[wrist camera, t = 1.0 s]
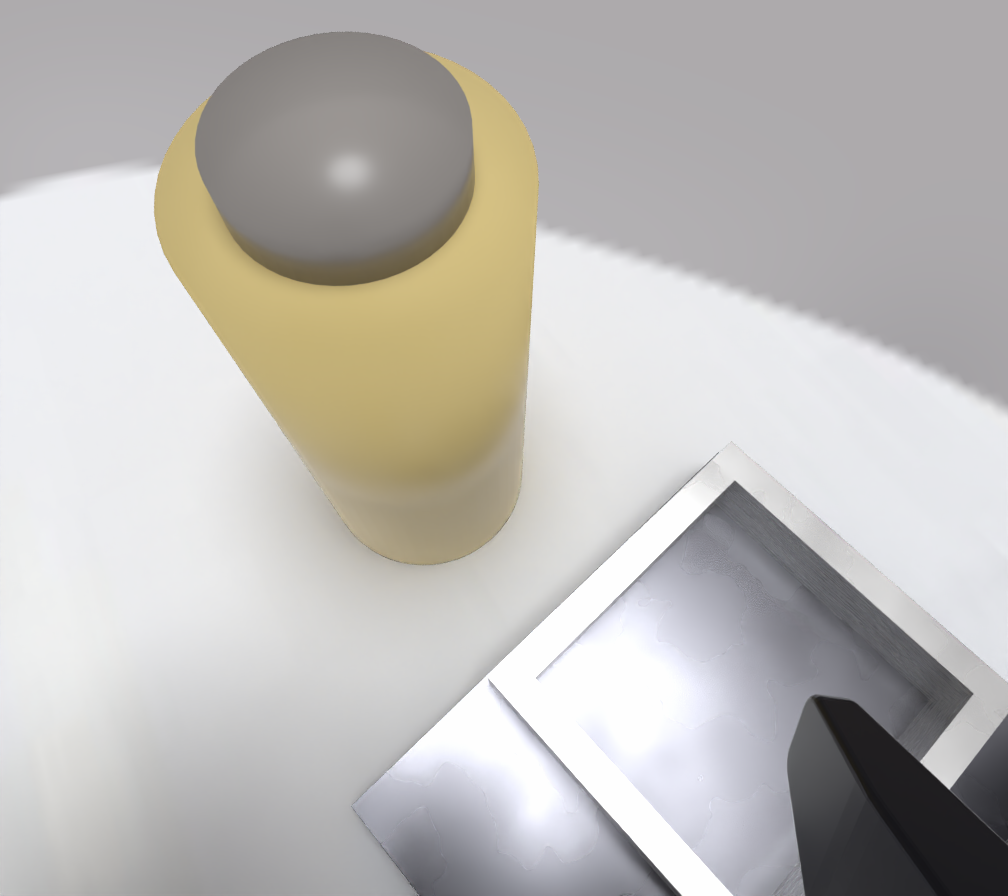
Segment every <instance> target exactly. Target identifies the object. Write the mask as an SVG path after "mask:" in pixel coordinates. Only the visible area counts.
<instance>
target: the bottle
mask: <svg viewBox="0 0 1008 896" xmlns="http://www.w3.org/2000/svg"><path fill="white" fill-rule="evenodd" d="M538 187H539V181H538V166H537V160H536V156H535V152H534V147H533V144H532V142H531V140H530V137H529V135H528V132H527V130H526V128H525V126H524V124H523V123H522V121H521V120H520V118H519V116H518V114H517V113H516V111H515V110H514V109H513V108H512V107H511V105H510V104H509V103H508V102H507V101H506V99H505V98H504V97H503V96H502V95H501V94H500V93H498V91H497V90H495V89H494V88H493V87H492V86H491V85H490V84H489V83H488V82H486V81H485V80H483V79H482V78H480V77H479V76H478V75H476V74H475V73H473V72H472V71H470V70H468V69H466V68H464V67H462V66H460V65H459V64H457V63H455V62H453V61H450V60H448V59H445V58H443V57H440V56H438V55H435V54H432V53H429V52H425V51H422V50H420V49H418V48H416V47H415V46H412V45H410V44H408V43H405V42H402V41H400V40H397V39H393V38H390V37H386V36H382V35H375V34H370V33H360V32H330V33H322V34H314V35H310V36H305V37H300V38H297V39H293V40H291V41H287V42H284V43H281V44H279V45H276V46H274V47H272V48H269V49H267V50H265V51H263V52H262V53H260V54H258V55H256V56H254V57H252V58H251V59H249V60H248V61H246V62H245V63H244V64H242V65H241V66H239V67H238V68H237V69H236V70H235V71H233V72H232V73H231V74H230V75H229V76H228V77H227V78H226V79H225V80H224V81H223V82H222V83H221V84H220V85H219V86H218V87H217V89H216V90H215V92H214V93H213V94H212V95H211V96H210V97H209V98H208V99H207V100H206V101H205V102H203V103H202V104H201V105H200V106H199V107H198V109H196V111H195V112H194V113H193V114H192V115H191V116H190V117H189V118H188V119H187V120H186V122H185V123H184V125H183V126H182V127H181V129H180V130H179V132H178V133H177V134H176V136H175V137H174V139H173V141H172V143H171V145H170V147H169V149H168V151H167V153H166V154H165V157H164V160H163V163H162V165H161V168H160V171H159V174H158V179H157V184H156V189H155V201H154V216H155V222H156V229H157V234H158V237H159V240H160V243H161V246H162V249H163V252H164V255H165V256H166V258H167V260H168V262H169V264H170V266H171V267H172V269H173V271H174V273H175V274H176V276H177V277H178V279H179V280H180V282H181V283H182V285H183V286H184V287H185V289H186V290H187V292H188V293H189V295H190V296H191V298H192V299H193V301H194V302H195V304H196V305H197V307H198V308H199V310H200V311H201V312H202V314H203V315H204V317H205V318H206V320H207V321H208V323H209V324H210V326H211V327H212V329H213V330H214V332H215V333H216V335H217V336H218V337H219V339H220V340H221V342H222V343H223V345H224V346H225V348H226V349H227V351H228V352H229V354H230V355H231V357H232V358H233V360H234V361H235V362H236V364H237V365H238V367H239V368H240V370H241V371H242V373H243V374H244V376H245V377H246V379H247V380H248V382H249V383H250V384H251V386H252V387H253V389H254V390H255V392H256V393H257V395H258V396H259V398H260V399H261V401H262V402H263V404H264V405H265V407H266V408H267V409H268V411H269V412H270V414H271V415H272V417H273V418H274V420H275V421H276V423H277V424H278V426H279V427H280V429H281V430H282V432H283V433H284V434H285V436H286V437H287V439H288V440H289V442H290V443H291V445H292V446H293V448H294V449H295V451H296V452H297V454H298V455H299V457H300V458H301V459H302V461H303V462H304V464H305V465H306V467H307V468H308V470H309V471H310V473H311V474H312V476H313V477H314V479H315V480H316V482H317V483H318V484H319V486H320V487H321V489H322V490H323V492H324V493H325V495H326V496H327V498H328V499H329V501H330V502H331V504H332V505H333V506H334V508H335V509H336V511H337V512H338V514H339V515H340V517H341V518H342V520H343V521H344V523H345V524H346V526H347V527H348V528H349V529H350V531H351V532H352V533H353V535H354V536H355V537H356V538H357V539H358V540H359V541H361V542H362V543H363V544H364V545H365V546H367V547H368V548H370V549H371V550H372V551H374V552H376V553H378V554H380V555H382V556H384V557H386V558H389V559H392V560H394V561H398V562H402V563H407V564H416V565H433V564H439V563H445V562H449V561H452V560H456V559H459V558H461V557H464V556H466V555H468V554H470V553H472V552H474V551H475V550H477V549H479V548H480V547H482V546H483V545H484V544H486V543H487V542H488V541H489V540H491V539H492V538H493V537H494V536H495V535H496V534H497V533H498V532H499V531H500V530H501V528H502V527H503V526H504V524H505V523H506V521H507V520H508V518H509V517H510V515H511V513H512V511H513V509H514V507H515V504H516V502H517V499H518V496H519V492H520V487H521V478H522V463H523V446H524V429H525V411H526V394H527V377H528V360H529V343H530V325H531V308H532V291H533V274H534V257H535V240H536V222H537V204H538Z"/></svg>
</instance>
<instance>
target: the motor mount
mask: <svg viewBox="0 0 1008 896" xmlns="http://www.w3.org/2000/svg"><path fill="white" fill-rule="evenodd" d="M815 694H820V695H828V696H836V697H844V698H848V699H852V700H853V701H855V702H856V703H858V704H859V705H860V706H861V707H862V708H863V709H864V710H865V711H866V712H868V713H869V714H870V715H871V716H872V717H873V718H874V719H875V720H876V721H877V722H878V723H879V724H880V725H881V726H882V727H883V728H885V729H886V730H887V731H888V732H889V733H890V734H891V735H892V736H893V737H894V738H895V739H896V740H897V741H898V742H899V743H900V744H902V745H903V746H904V747H905V748H906V749H907V750H908V751H909V752H910V753H911V754H912V755H913V756H914V757H915V758H916V759H917V760H919V761H920V762H921V763H922V764H923V765H924V766H925V767H926V768H927V769H928V770H929V771H930V772H931V773H932V774H933V775H934V776H936V777H937V778H938V779H939V780H940V781H941V782H942V783H943V784H944V785H945V786H946V787H947V788H948V789H949V790H950V791H951V792H953V793H954V794H955V795H956V796H957V797H958V798H959V799H960V800H961V801H962V802H963V803H964V804H965V805H966V806H967V807H968V808H970V809H971V810H972V811H973V812H974V813H975V814H976V815H977V816H978V817H979V818H980V819H981V820H982V821H983V822H984V823H986V824H987V825H988V826H989V827H990V828H991V829H992V830H993V831H994V832H995V833H996V834H997V835H998V836H999V837H1000V838H1001V839H1003V840H1004V841H1005V842H1006V843H1007V844H1008V683H1007V682H1006V681H1005V680H1004V679H1003V678H1001V677H1000V676H999V675H998V674H997V673H996V672H995V671H993V670H992V669H991V668H990V667H989V666H988V665H987V664H985V663H984V662H983V661H982V660H981V659H980V658H979V657H978V656H976V655H975V654H974V653H973V652H972V651H971V650H970V649H968V648H967V647H966V646H965V645H964V644H963V643H962V642H960V641H959V640H958V639H957V638H956V637H955V636H954V635H952V634H951V633H950V632H949V631H948V630H947V629H946V628H944V627H943V626H942V625H941V624H940V623H939V622H938V621H936V620H935V619H934V618H933V617H932V616H931V615H930V614H928V613H927V612H926V611H925V610H924V609H923V608H922V607H920V606H919V605H918V604H917V603H916V602H915V601H914V600H912V599H911V598H910V597H909V596H908V595H907V594H906V593H904V592H903V591H902V590H901V589H900V588H899V587H898V586H896V585H895V584H894V583H893V582H892V581H891V580H890V579H888V578H887V577H886V576H885V575H884V574H883V573H882V572H880V571H879V570H878V569H877V568H876V567H875V566H874V565H872V564H871V563H870V562H869V561H868V560H867V559H866V558H864V557H863V556H862V555H861V554H860V553H859V552H858V551H856V550H855V549H854V548H853V547H852V546H851V545H850V544H848V543H847V542H846V541H845V540H844V539H843V538H842V537H840V536H839V535H838V534H837V533H836V532H835V531H834V530H832V529H831V528H830V527H829V526H828V525H827V524H826V523H824V522H823V521H822V520H821V519H820V518H819V517H818V516H816V515H815V514H814V513H813V512H812V511H811V510H810V509H808V508H807V507H806V506H805V505H804V504H803V503H802V502H800V501H799V500H798V499H797V498H796V497H795V496H794V495H792V494H791V493H790V492H789V491H788V490H787V489H786V488H784V487H783V486H782V485H781V484H780V483H779V482H778V481H776V480H775V479H774V478H773V477H772V476H771V475H770V474H768V473H767V472H766V471H765V470H764V469H763V468H762V467H760V466H759V465H758V464H757V463H756V462H755V461H754V460H752V459H751V458H750V457H749V456H748V455H747V454H746V453H744V452H743V451H742V450H741V449H740V448H739V447H738V446H736V445H735V444H734V443H733V442H732V441H731V442H730V443H729V444H728V445H727V446H726V447H725V448H724V449H723V450H722V451H721V452H720V453H719V452H718V453H717V454H716V455H715V456H714V457H713V458H712V459H711V460H710V461H709V462H708V463H707V464H706V465H705V466H704V467H703V468H702V469H701V470H700V471H699V472H698V473H696V474H695V475H694V476H693V477H692V478H691V479H690V480H689V481H688V482H687V483H686V484H685V485H684V486H683V487H682V488H681V489H680V490H679V491H678V492H677V493H676V494H675V495H674V496H673V497H672V498H671V499H669V500H668V501H667V502H666V503H665V504H664V505H663V506H662V507H661V508H660V509H659V510H658V511H657V512H656V513H655V514H654V515H653V516H652V517H651V518H650V519H649V520H648V521H647V522H646V523H645V524H644V525H642V526H641V527H640V528H639V529H638V530H637V531H636V532H635V533H634V534H633V535H632V536H631V537H630V538H629V539H628V540H627V541H626V542H625V543H624V544H623V545H622V546H621V547H620V548H619V549H618V550H617V551H615V552H614V553H613V554H612V555H611V556H610V557H609V558H608V559H607V560H606V561H605V562H604V563H603V564H602V565H601V566H600V567H599V568H598V569H597V570H596V571H595V572H594V573H593V574H592V575H591V576H589V577H588V578H587V579H586V580H585V581H584V582H583V583H582V584H581V585H580V586H579V587H578V588H577V589H576V590H575V591H574V592H573V593H572V594H571V595H570V596H569V597H568V598H567V599H566V600H565V601H564V602H562V603H561V604H560V605H559V606H558V607H557V608H556V609H555V610H554V611H553V612H552V613H551V614H550V615H549V616H548V617H547V618H546V619H545V620H544V621H543V622H542V623H541V624H540V625H539V626H538V627H537V628H535V629H534V630H533V631H532V632H531V633H530V634H529V635H528V636H527V637H526V638H525V639H524V640H523V641H522V642H521V643H520V644H519V645H518V646H517V647H516V648H515V649H514V650H513V651H512V652H511V653H509V654H508V655H507V656H506V657H505V658H504V659H503V660H502V661H501V662H500V663H499V664H498V665H497V666H496V667H495V668H494V669H493V670H492V671H491V672H490V673H489V674H488V675H487V676H486V677H485V678H484V679H482V680H481V681H480V682H479V683H478V684H477V685H476V686H475V687H474V688H473V689H472V690H471V691H470V692H469V693H468V694H467V695H466V696H465V697H464V698H463V699H462V700H461V701H460V702H459V703H458V704H457V705H455V706H454V707H453V708H452V709H451V710H450V711H449V712H448V713H447V714H446V715H445V716H444V717H443V718H442V719H441V720H440V721H439V722H438V723H437V724H436V725H435V726H434V727H433V728H432V729H431V730H430V731H428V732H427V733H426V734H425V735H424V736H423V737H422V738H421V739H420V740H419V741H418V742H417V743H416V744H415V745H414V746H413V747H412V748H411V749H410V750H409V751H408V752H407V753H406V754H405V755H404V756H402V757H401V758H400V759H399V760H398V761H397V762H396V763H395V764H394V765H393V766H392V767H391V768H390V769H389V770H388V771H387V772H386V773H385V774H384V775H383V776H382V777H381V778H380V779H379V780H378V781H377V782H375V783H374V784H373V785H372V786H371V787H370V788H369V789H368V790H367V791H366V792H365V793H364V794H363V795H362V796H361V797H360V798H359V799H358V800H357V801H356V802H355V803H354V804H353V805H352V806H351V807H352V808H353V809H354V811H355V812H356V813H357V815H358V816H359V817H360V818H361V820H362V821H363V822H364V824H365V825H366V826H367V828H368V829H369V830H370V831H371V833H372V834H373V835H374V837H375V838H376V839H377V841H378V842H379V843H380V844H381V846H382V847H383V848H384V850H385V851H386V852H387V853H388V855H389V856H390V857H391V859H392V860H393V861H394V863H395V864H396V865H397V866H398V868H399V869H400V870H401V872H402V873H403V874H404V876H405V877H406V878H407V879H408V881H409V882H410V883H411V885H412V886H413V887H414V888H415V890H416V891H417V892H418V894H419V895H420V896H805V894H804V887H803V880H802V874H801V867H800V860H799V853H798V846H797V839H796V832H795V826H794V819H793V812H792V805H791V798H790V791H789V784H788V777H787V755H788V750H789V747H790V744H791V741H792V738H793V735H794V733H795V730H796V727H797V724H798V721H799V718H800V715H801V713H802V710H803V707H804V704H805V702H806V701H807V699H808V698H809V697H810V696H812V695H815Z"/></svg>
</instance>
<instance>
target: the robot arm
mask: <svg viewBox="0 0 1008 896" xmlns="http://www.w3.org/2000/svg"><path fill="white" fill-rule="evenodd" d="M787 777H788V784H789V791H790V798H791V805H792V812H793V819H794V826H795V832H796V839H797V846H798V853H799V860H800V867H801V874H802V880H803V887H804V894H805V896H1008V844H1007V843H1006V842H1005V841H1004V840H1003V839H1001V838H1000V837H999V836H998V835H997V834H996V833H995V832H994V831H993V830H992V829H991V828H990V827H989V826H988V825H987V824H986V823H984V822H983V821H982V820H981V819H980V818H979V817H978V816H977V815H976V814H975V813H974V812H973V811H972V810H971V809H970V808H968V807H967V806H966V805H965V804H964V803H963V802H962V801H961V800H960V799H959V798H958V797H957V796H956V795H955V794H954V793H953V792H951V791H950V790H949V789H948V788H947V787H946V786H945V785H944V784H943V783H942V782H941V781H940V780H939V779H938V778H937V777H936V776H934V775H933V774H932V773H931V772H930V771H929V770H928V769H927V768H926V767H925V766H924V765H923V764H922V763H921V762H920V761H919V760H917V759H916V758H915V757H914V756H913V755H912V754H911V753H910V752H909V751H908V750H907V749H906V748H905V747H904V746H903V745H902V744H900V743H899V742H898V741H897V740H896V739H895V738H894V737H893V736H892V735H891V734H890V733H889V732H888V731H887V730H886V729H885V728H883V727H882V726H881V725H880V724H879V723H878V722H877V721H876V720H875V719H874V718H873V717H872V716H871V715H870V714H869V713H868V712H866V711H865V710H864V709H863V708H862V707H861V706H860V705H859V704H858V703H856V702H855V701H853V700H852V699H848V698H844V697H836V696H828V695H820V694H815V695H812V696H810V697H809V698H808V699H807V701H806V702H805V704H804V707H803V710H802V713H801V715H800V718H799V721H798V724H797V727H796V730H795V733H794V735H793V738H792V741H791V744H790V747H789V750H788V755H787Z"/></svg>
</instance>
